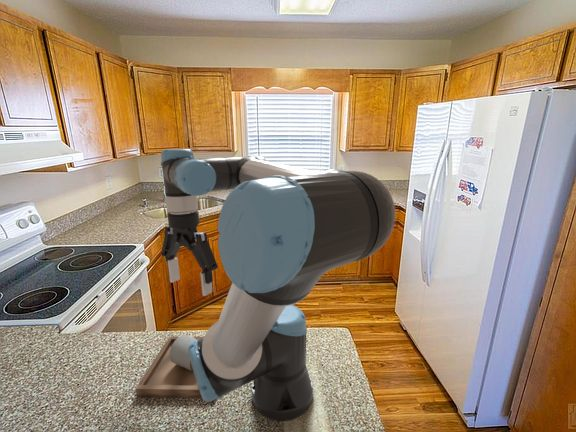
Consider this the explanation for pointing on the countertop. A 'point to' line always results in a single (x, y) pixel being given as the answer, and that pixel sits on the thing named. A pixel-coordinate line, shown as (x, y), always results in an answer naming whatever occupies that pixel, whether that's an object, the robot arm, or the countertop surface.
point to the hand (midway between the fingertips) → (190, 286)
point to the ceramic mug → (181, 351)
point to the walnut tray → (168, 378)
